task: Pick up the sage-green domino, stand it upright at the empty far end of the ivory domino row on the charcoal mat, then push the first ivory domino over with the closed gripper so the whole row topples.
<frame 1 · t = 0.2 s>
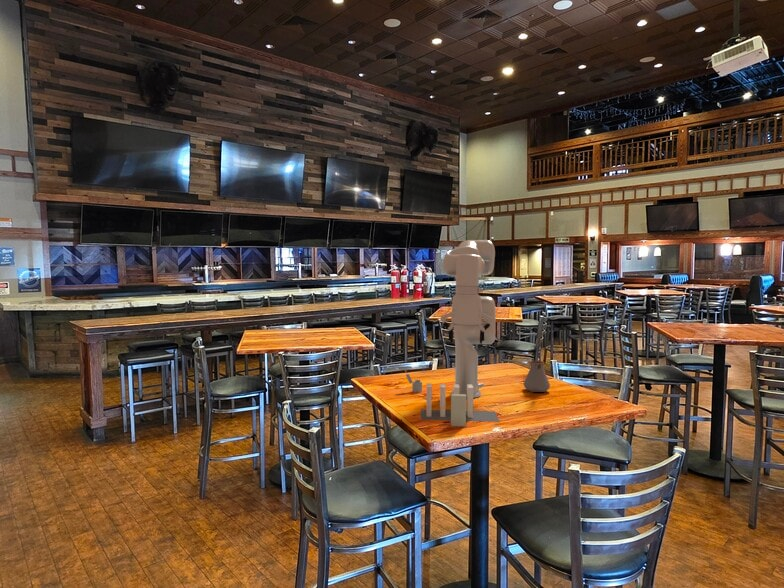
hand: (466, 342, 159), 30 cm above the table, tool pointing down, fingers open, 9 cm apart
lighter: (413, 392, 209), on the table
mat: (458, 416, 175), on the table
domino 1: (428, 414, 176), resting on mat
domino 4: (469, 415, 175), resting on mat
domino 3: (456, 415, 175), resting on mat
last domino: (458, 426, 164), on the table
domino 2: (442, 414, 175), resting on mat
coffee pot: (537, 394, 207), on the table
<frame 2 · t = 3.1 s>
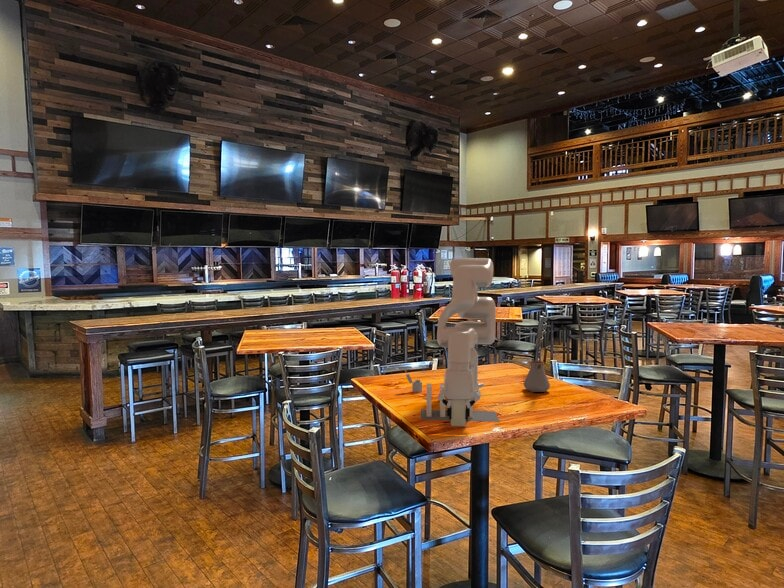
hand: (458, 417, 164), 3 cm above the table, tool pointing down, fingers closed on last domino, 4 cm apart
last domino: (458, 426, 164), on the table, touching gripper
everything else where it was.
when the fingers open (4 cm above the table, at t = 8.2 s): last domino stays where it is, resting on mat.
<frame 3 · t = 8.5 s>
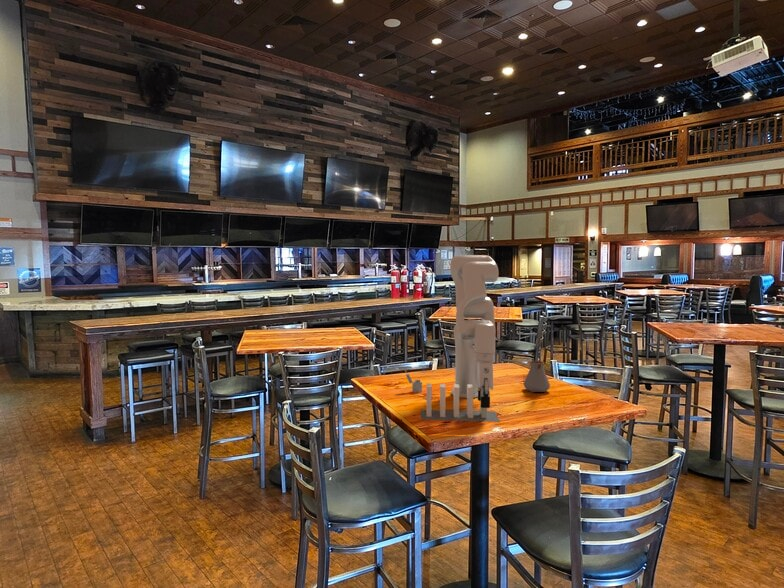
hand: (483, 403, 174), 5 cm above the table, tool pointing down, fingers open, 8 cm apart
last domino: (483, 415, 174), resting on mat
everything else where it was.
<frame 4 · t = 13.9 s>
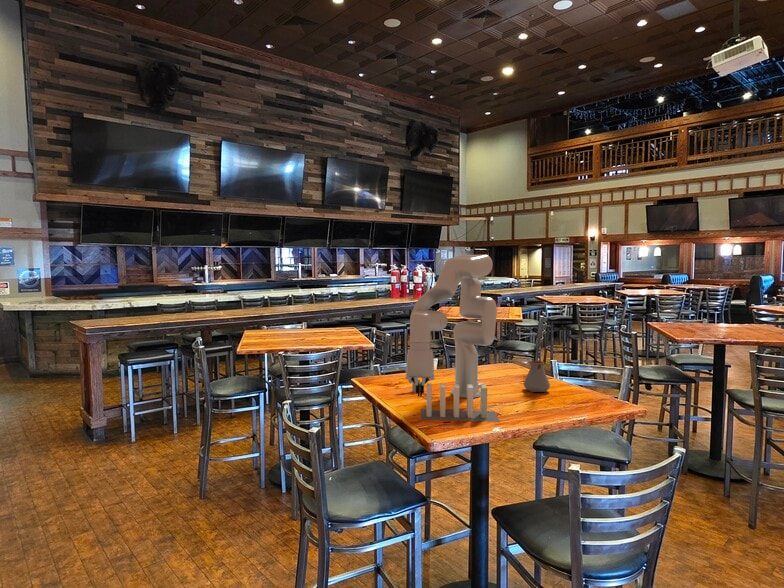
hand: (419, 395, 176), 8 cm above the table, tool pointing down, fingers closed
domino 1: (428, 414, 176), resting on mat, touching gripper
everything else where it was.
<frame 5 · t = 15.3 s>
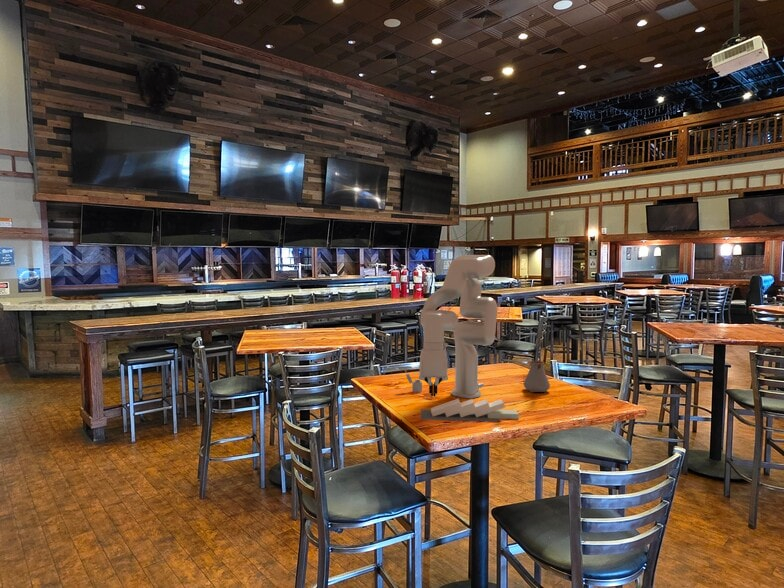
hand: (433, 395, 175), 8 cm above the table, tool pointing down, fingers closed
domino 1: (431, 412, 176), point 1 cm above the table, tilted 69°, touching domino 2
domino 4: (474, 412, 175), point 1 cm above the table, tilted 69°, touching domino 3, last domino
domino 3: (459, 413, 175), point 1 cm above the table, tilted 69°, touching domino 2, domino 4, mat
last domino: (486, 413, 174), point 1 cm above the table, tilted 90°, touching domino 4, mat
domino 2: (445, 412, 175), point 1 cm above the table, tilted 69°, touching domino 1, domino 3, mat
everything else where it was.
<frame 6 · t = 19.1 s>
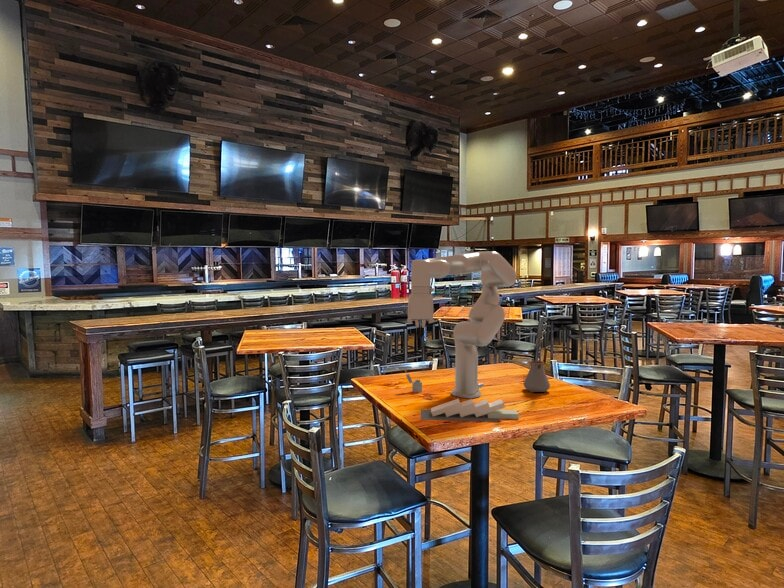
hand: (420, 337, 188), 27 cm above the table, tool pointing down, fingers closed
nothing on the table moved.
at the end: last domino tilted 90°; domino 1 tilted 69°; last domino inside the target area on the mat (1.1 cm from its centre), point 1.3 cm above the mat's base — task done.
